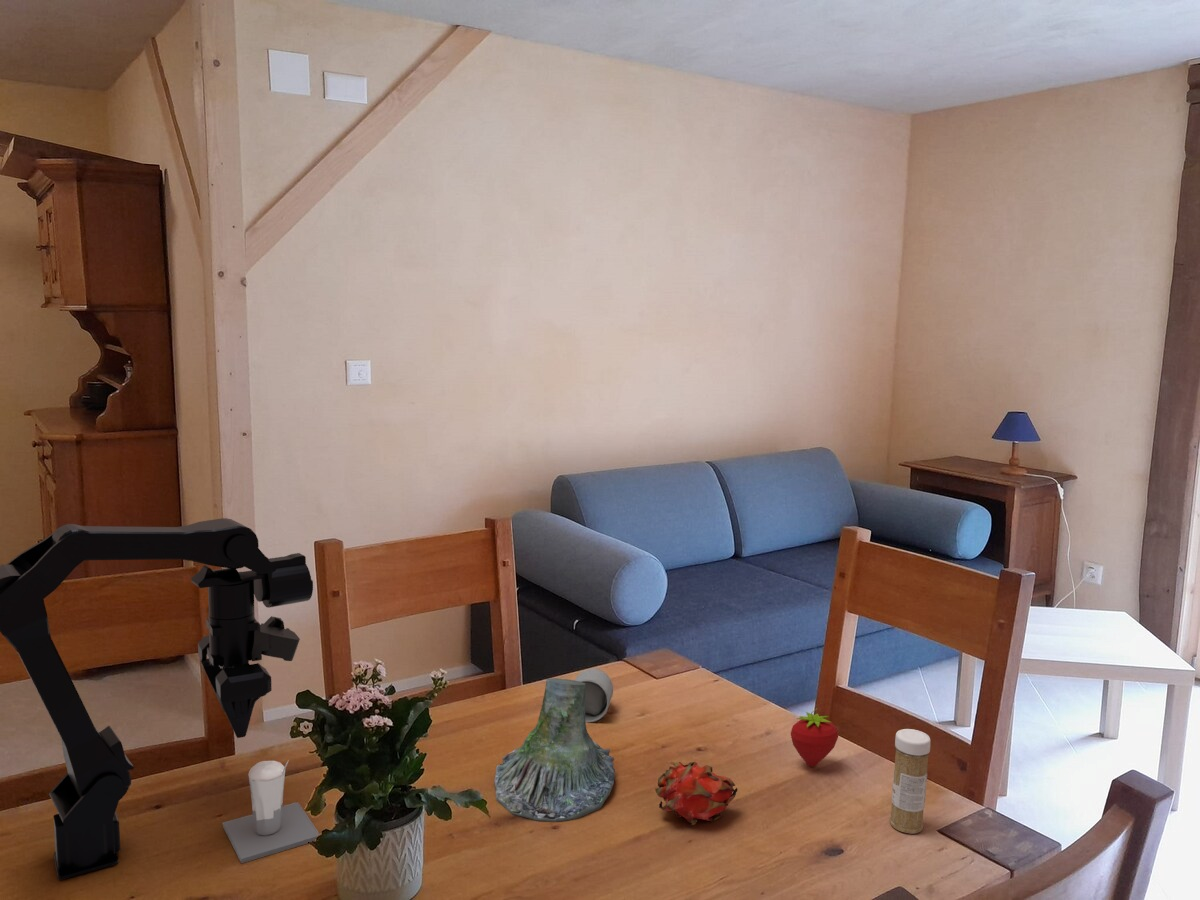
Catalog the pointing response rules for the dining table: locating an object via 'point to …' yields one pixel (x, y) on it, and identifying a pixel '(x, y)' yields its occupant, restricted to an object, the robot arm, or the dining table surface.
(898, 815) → the spice jar
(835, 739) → the strawberry
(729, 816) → the dining table surface
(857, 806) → the dining table surface
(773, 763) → the dining table surface
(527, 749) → the tree stump
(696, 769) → the dragon fruit
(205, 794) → the dining table surface
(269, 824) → the milkshake
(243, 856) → the coaster
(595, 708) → the ceramic mug
